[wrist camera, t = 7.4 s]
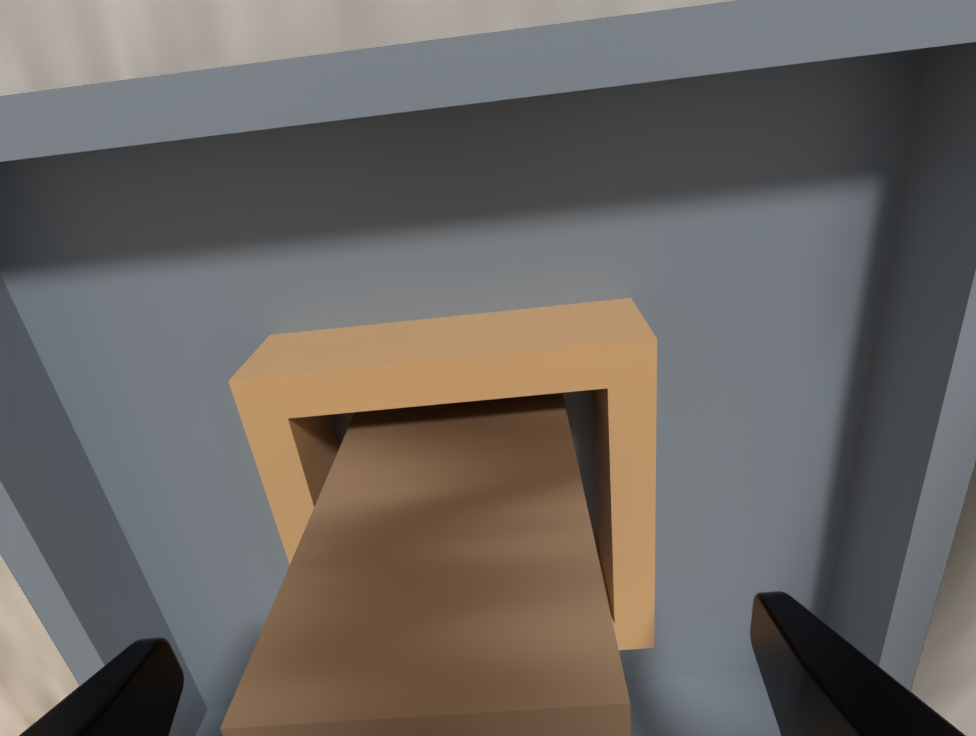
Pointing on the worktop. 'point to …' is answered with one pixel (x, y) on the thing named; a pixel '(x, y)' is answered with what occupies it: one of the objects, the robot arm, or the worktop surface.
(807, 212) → the box
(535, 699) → the brown rectangular block
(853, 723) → the robot arm
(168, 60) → the worktop surface
